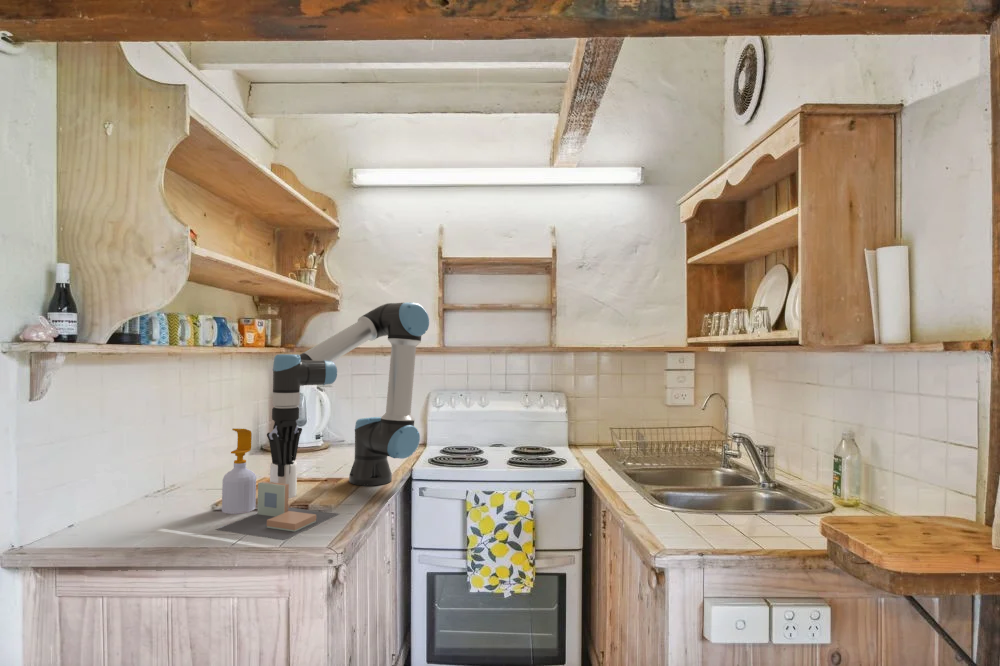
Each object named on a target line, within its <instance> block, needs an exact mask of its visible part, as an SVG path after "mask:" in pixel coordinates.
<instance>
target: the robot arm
mask: <svg viewBox="0 0 1000 666" xmlns="http://www.w3.org/2000/svg"><path fill="white" fill-rule="evenodd" d="M429 326H430V318H429V314H428V312H427V311H426V309H425V307H423V306H422V305H421V304H420V303H417V302H395V303H394V302H393V303H392V302H391V303H385V304H382V305H380V306H378V307H376V308H374V309H372V310H370V311H369V312H367V313H365V314H363V315H361V316H359V317H358V319H357V321H356V322H355V323H353V324H351V325H349V326H348V327H346V328H344V329H343V330H341V331H339V332H337V333H336V334H334V335H332V336H330V337H328V338H327V339H325V340H324V341H322V342H319V343H318V344H316V345H315V346H313V347H311V348H310V349H308V350H305V351H304V352H302V353H300V354H293V353H292V354H291V353H290V354H289V353H288V354H285V353H284V354H283V353H282V354H281V353H279V354H276V355H275V356H274V358H273V365H272V402H271V403H272V406H273V407H272V408H271V420H272V421H273V422H274V424H273V427H272V429H273V430H271V432H267V434H266V437H267V439H268V441H269V442H268V443H269V449H270V456H271V461H272V462H271V463H273V464H275V465H278V483H283V484H289V474H290V464H293V463H294V462H292V461H295V460H296V459H297V454H298V447H299V444H300V437H301V435H302V431H303V428H302V427H299V426H298V423H297V421H298V420H299V419H300V408H299V407H298V406H300V403H301V401H300V400H301V399H300V398H301V397H300V394H301V392H300V391H301V389H300V388H301V387H302V386H326V385H332V384H334V382H335V381H336V380H337V376H338V368H337V365H336V363H335V361H336V360H337V359H339V358H342V357H343V356H344V355H346V354H348V353H350V352H351V351H353V350H354V349H356V348H358V347H359V346H361V345H362V344H364V343H366V342H368V341H370V342H371V341H375V340H377V339H378V338H381V337H385V336H386V337H387V341H388V342H389V343H390V344H391V348H390V359H389V371H388V372H389V373H388V385H387V396H386V407H385V413H384V414H383V415H382V416H375V417H374V416H372V417H365V418H358V419H357V420H356V421H355V427H354V460H353V464H352V466H351V469H350V472H349V474H348V475H349V476H348V482H349V483H350V484H352V485H356V486H367V487H369V486H379V485H384V484H388V483H390V482H392V479H393V474H392V471H391V467H390V463H389V460H388V457H390V458H392V459H400V460H401V459H403V460H404V459H407V458H409V457H411V456H412V455H413V454H414V453H415V452H416V450H417V449H418V447H419V445H420V440H421V435H420V432H419V430H418V428H417V427H415V418H414V417H413V415H412V413H411V412H412V403H413V402H412V400H413V390H414V389H413V387H414V376H415V364H416V353H417V346H418V345H420V343H422V336H424V335H425V334H426V333H427V332H428V329H429Z"/></svg>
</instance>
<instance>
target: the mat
mask: <svg viewBox="0 0 1000 666" xmlns="http://www.w3.org/2000/svg"><path fill="white" fill-rule="evenodd" d="M288 511H293V512H301V513H308V514H316V522H315V523H313V524H310V525H308V526H306V527H304V528H302V529H300V530H298V531H295V532H293V531H286V530H280V529H273V528H267V520H268V519H271V518H273V517H274V516H267V515H260V514H257V513H255V514H253V515H249V516H247V517H244V518H242V519H240V520H237V521H233V522H232V523H231V522H230V523H229V524H226V525H224V526H221V527H219V528H216V529H215V530H216V531H221V532H226V533H227V532H229V533H233V534H241V535H247V536H253V537H260V538H266V539H273V540H279V541H286V540H288V539H290V538H293V537H295V536H296V535H299V534H301V533H303V532H305V531H308V530H310V529H311V528H313V527H316V526H317V525H320V524H322V523H324V522H327V521H328V520H330V519H333V518H335V517H337V516H339V515H340V513H335V512H327V511H321V510H311V509H303V508H298V507H297V508H296V507H291V508H288Z"/></svg>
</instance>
